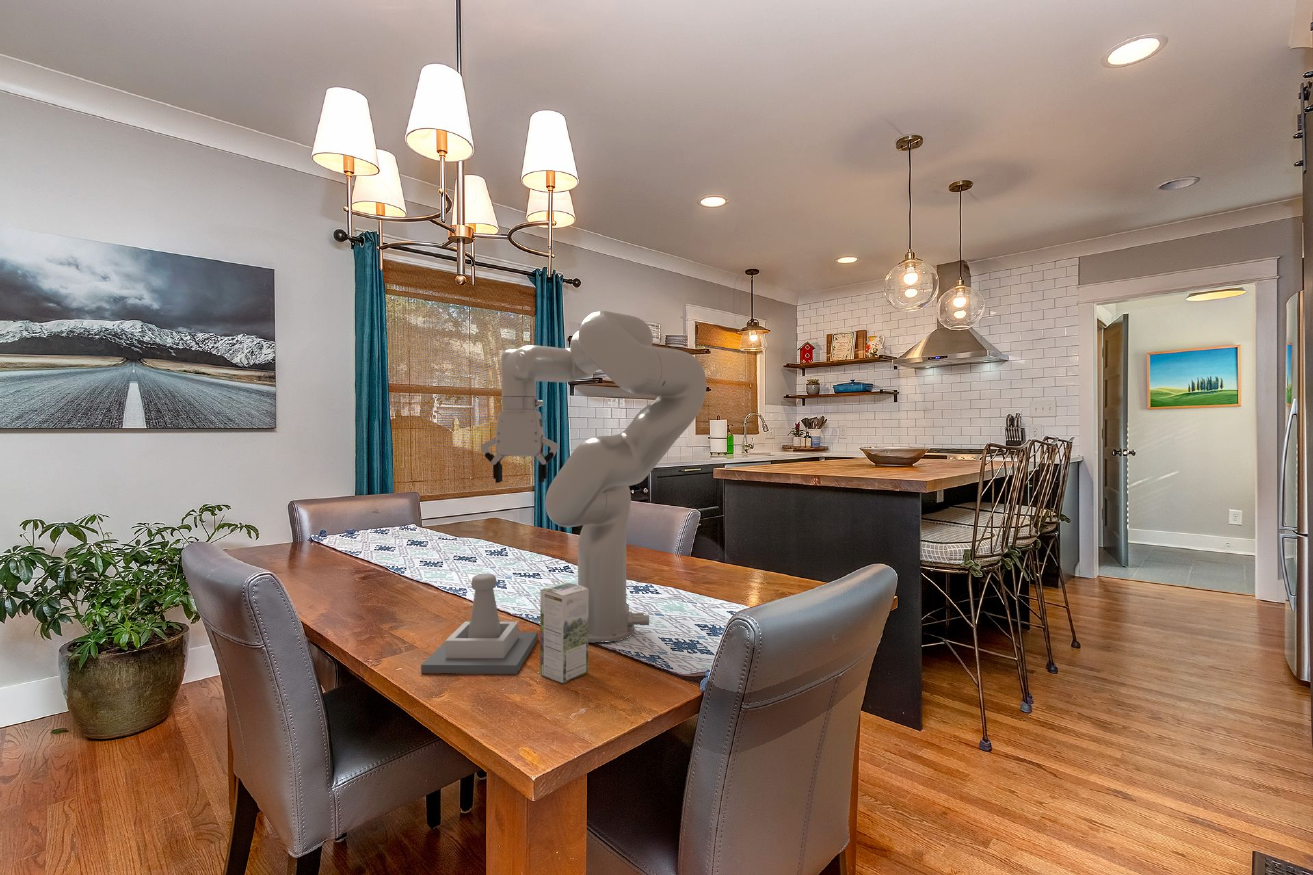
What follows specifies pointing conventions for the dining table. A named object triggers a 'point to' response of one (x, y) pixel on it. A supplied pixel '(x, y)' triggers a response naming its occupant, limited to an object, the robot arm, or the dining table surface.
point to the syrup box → (564, 632)
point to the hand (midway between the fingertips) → (520, 482)
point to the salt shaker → (484, 608)
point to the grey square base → (482, 652)
